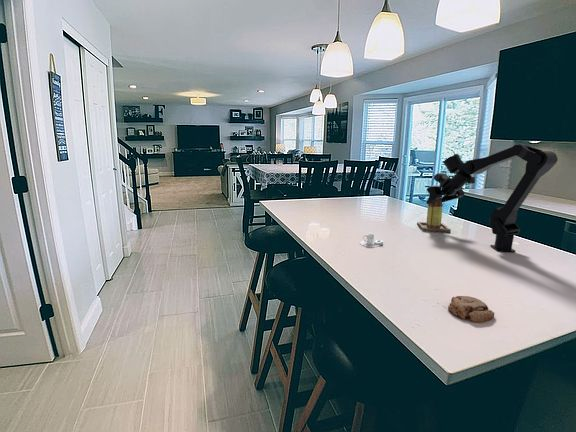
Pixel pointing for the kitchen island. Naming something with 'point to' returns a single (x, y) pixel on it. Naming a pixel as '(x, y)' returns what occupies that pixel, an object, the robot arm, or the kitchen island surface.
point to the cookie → (470, 309)
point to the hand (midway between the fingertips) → (433, 202)
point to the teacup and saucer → (371, 241)
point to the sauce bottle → (434, 213)
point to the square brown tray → (424, 228)
